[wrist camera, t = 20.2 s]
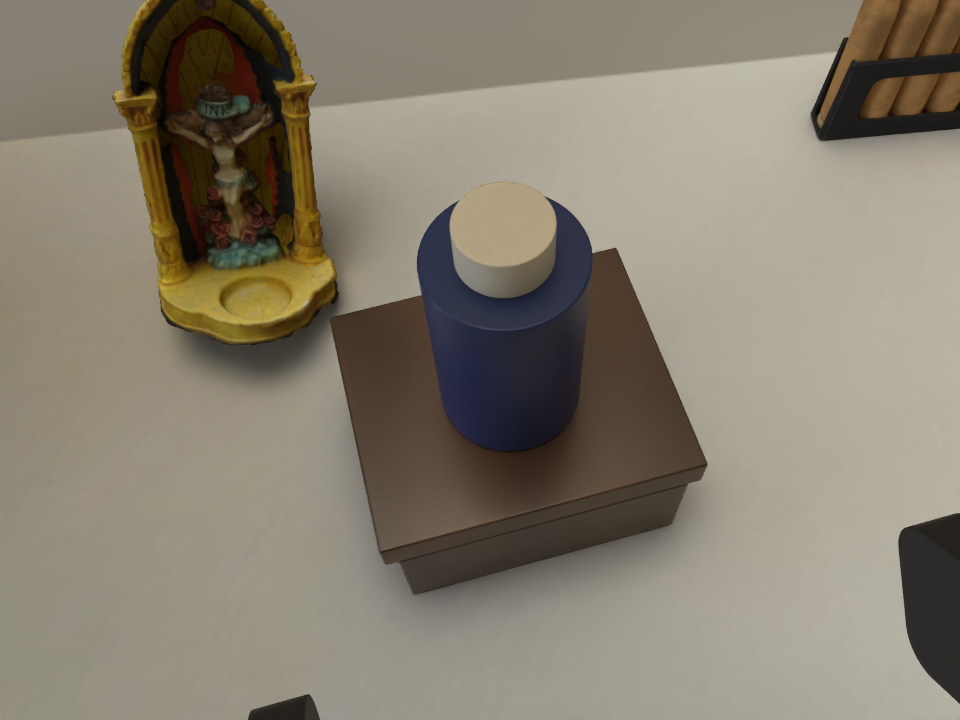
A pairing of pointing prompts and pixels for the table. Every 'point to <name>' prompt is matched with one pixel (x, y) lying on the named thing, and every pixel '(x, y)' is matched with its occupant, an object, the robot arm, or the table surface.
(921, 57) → the ammunition clip
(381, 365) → the brown wooden stand
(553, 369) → the bottle
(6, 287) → the table surface
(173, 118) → the shrine
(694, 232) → the table surface
